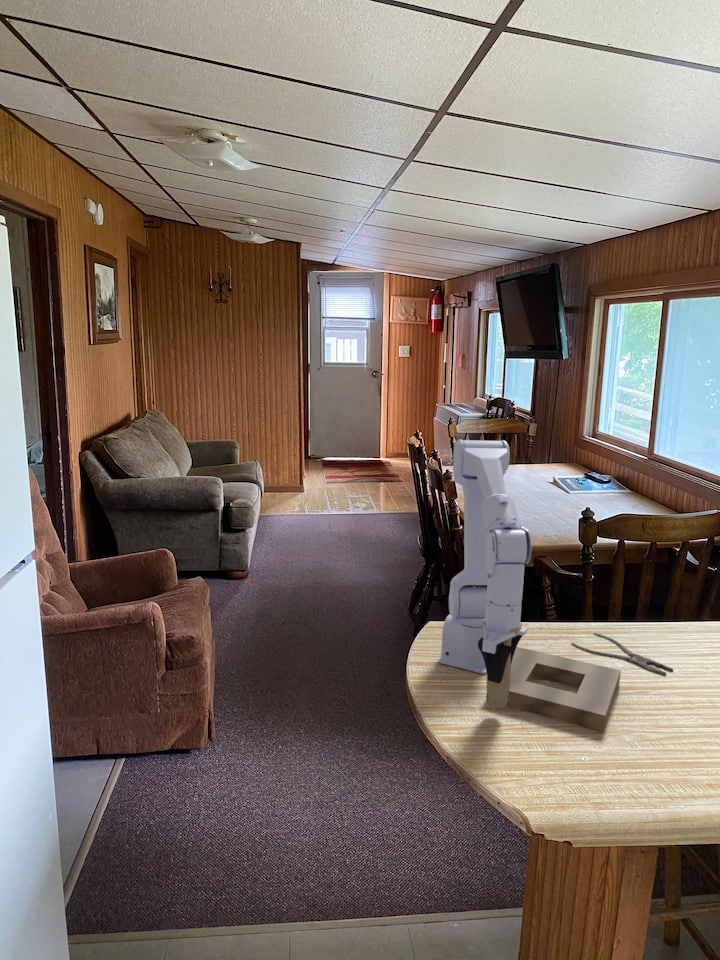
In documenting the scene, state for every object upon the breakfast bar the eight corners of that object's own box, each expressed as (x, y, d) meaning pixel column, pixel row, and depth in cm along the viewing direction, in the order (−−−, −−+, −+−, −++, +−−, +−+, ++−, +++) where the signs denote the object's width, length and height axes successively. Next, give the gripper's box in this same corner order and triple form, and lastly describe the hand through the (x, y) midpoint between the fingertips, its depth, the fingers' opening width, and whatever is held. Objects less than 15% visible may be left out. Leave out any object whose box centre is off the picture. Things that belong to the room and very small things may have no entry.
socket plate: (486, 700, 125) (487, 685, 125) (513, 660, 141) (514, 646, 140) (603, 732, 116) (605, 715, 116) (619, 685, 132) (620, 670, 131)
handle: (485, 693, 124) (490, 613, 121) (520, 704, 120) (526, 622, 117) (473, 705, 120) (478, 622, 117) (509, 717, 116) (515, 632, 113)
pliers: (586, 629, 155) (682, 657, 143) (586, 633, 155) (682, 661, 143) (568, 644, 148) (668, 674, 135) (568, 647, 148) (667, 678, 136)
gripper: (516, 620, 108) (509, 701, 111) (539, 590, 120) (533, 663, 123) (471, 611, 111) (467, 689, 114) (498, 582, 124) (493, 654, 127)
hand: (498, 675), depth 119 cm, fingers closed on handle, 4 cm apart
